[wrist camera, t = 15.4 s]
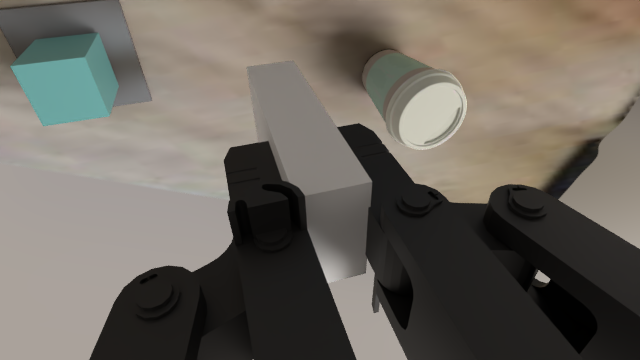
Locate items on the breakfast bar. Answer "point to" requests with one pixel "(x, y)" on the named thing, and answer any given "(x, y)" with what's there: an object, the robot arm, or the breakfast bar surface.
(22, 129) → the breakfast bar surface
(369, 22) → the breakfast bar surface
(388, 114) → the coffee cup
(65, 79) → the teal rectangular block
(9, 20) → the grey square base stand
